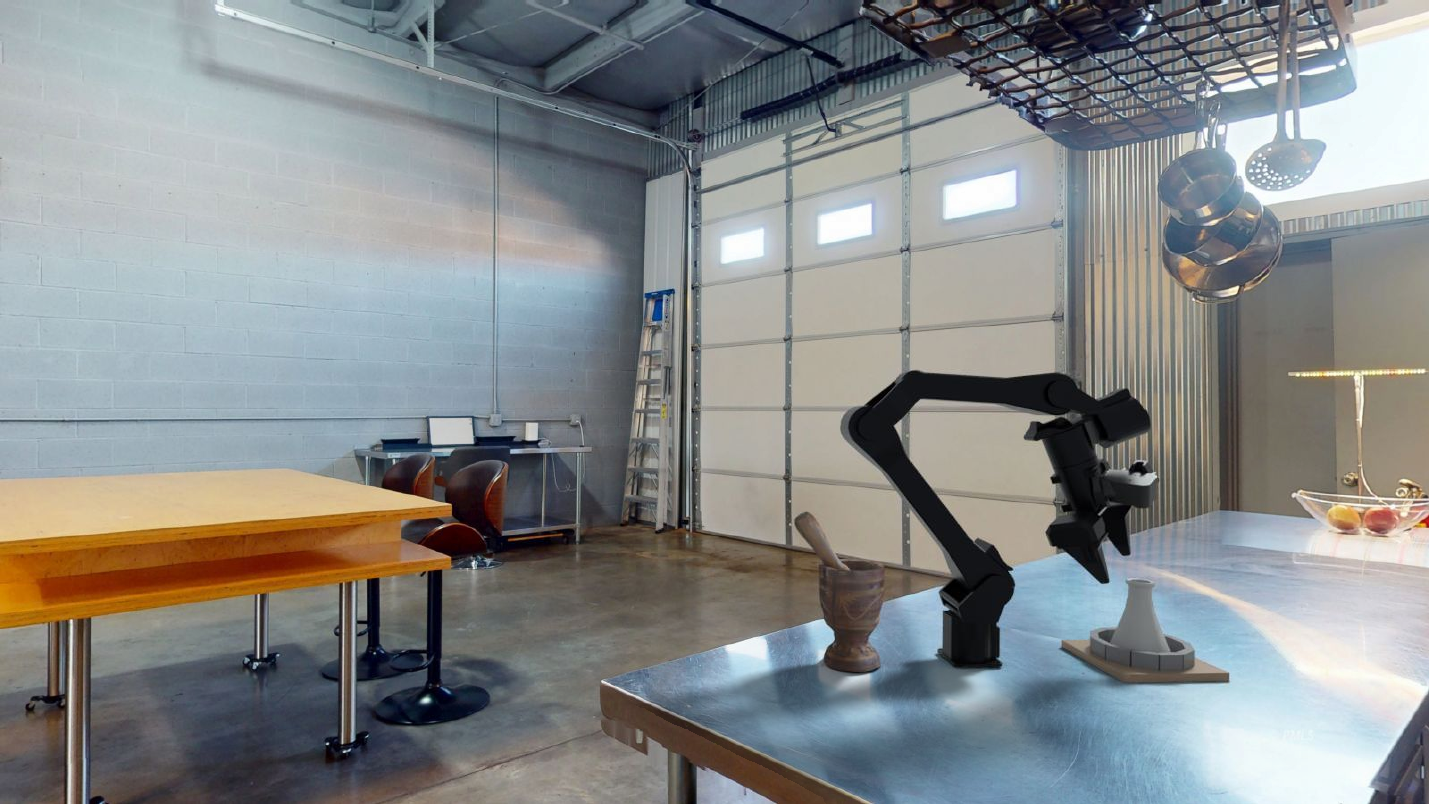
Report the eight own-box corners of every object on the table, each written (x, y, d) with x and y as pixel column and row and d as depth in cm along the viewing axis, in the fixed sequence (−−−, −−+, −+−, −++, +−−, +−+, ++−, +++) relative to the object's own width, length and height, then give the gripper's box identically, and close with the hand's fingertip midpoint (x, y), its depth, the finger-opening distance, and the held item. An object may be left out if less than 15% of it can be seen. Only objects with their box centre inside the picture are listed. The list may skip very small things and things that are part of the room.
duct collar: (1124, 682, 92) (1124, 658, 92) (1061, 646, 106) (1061, 625, 106) (1229, 680, 93) (1229, 656, 93) (1153, 645, 107) (1153, 624, 107)
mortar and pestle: (817, 681, 90) (819, 518, 91) (785, 659, 98) (787, 509, 99) (896, 671, 95) (898, 515, 95) (859, 650, 103) (861, 507, 103)
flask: (1184, 662, 97) (1185, 586, 97) (1138, 666, 95) (1138, 588, 95) (1140, 645, 104) (1141, 574, 104) (1096, 648, 102) (1097, 576, 102)
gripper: (1113, 471, 87) (1162, 595, 87) (1157, 428, 100) (1199, 535, 100) (1025, 487, 95) (1069, 600, 95) (1075, 445, 108) (1114, 544, 108)
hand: (1116, 568), depth 99 cm, fingers open, 9 cm apart
